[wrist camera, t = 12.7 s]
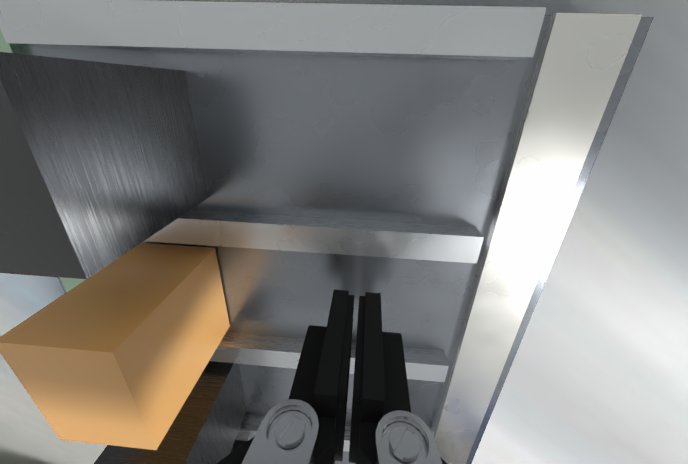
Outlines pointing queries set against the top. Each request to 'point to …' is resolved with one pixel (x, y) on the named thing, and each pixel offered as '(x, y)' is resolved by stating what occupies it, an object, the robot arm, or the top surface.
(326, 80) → the breaker panel
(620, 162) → the top surface
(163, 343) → the handle
